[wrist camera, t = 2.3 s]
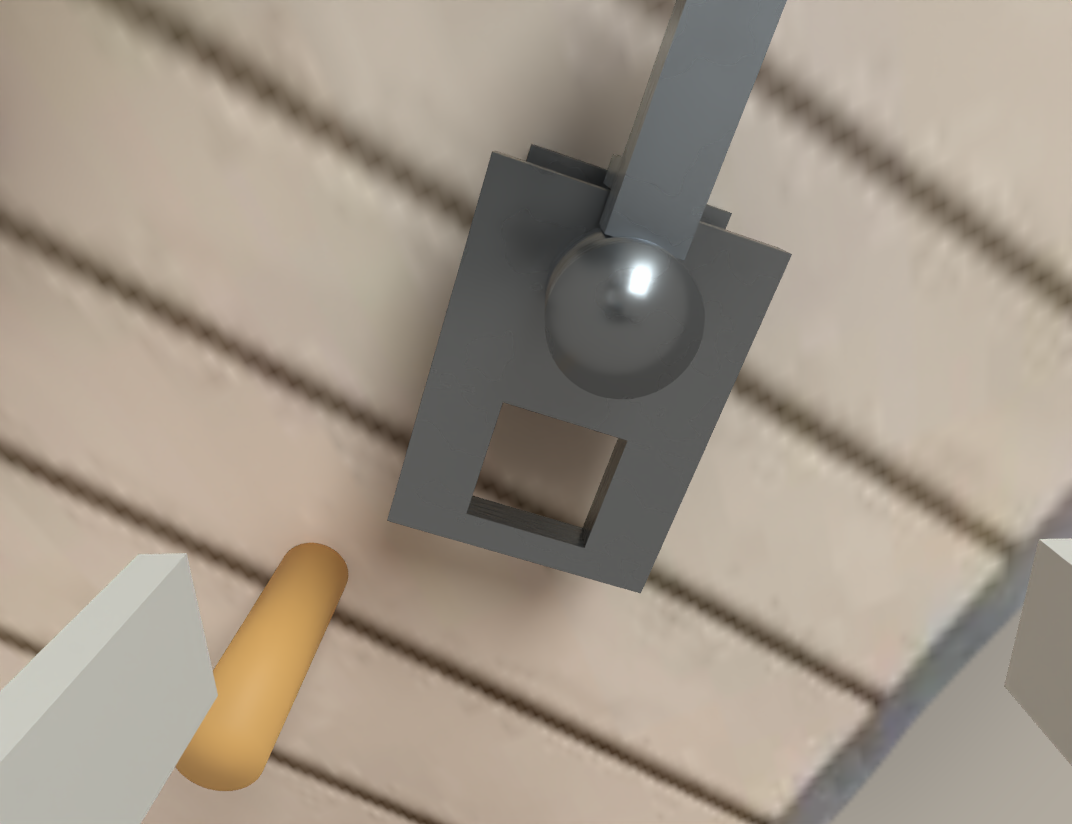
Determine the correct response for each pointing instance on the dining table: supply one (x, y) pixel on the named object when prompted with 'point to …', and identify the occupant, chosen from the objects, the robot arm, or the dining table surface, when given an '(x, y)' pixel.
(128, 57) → the dining table surface
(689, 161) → the grey toggle clamp
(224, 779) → the orange rounded rod
